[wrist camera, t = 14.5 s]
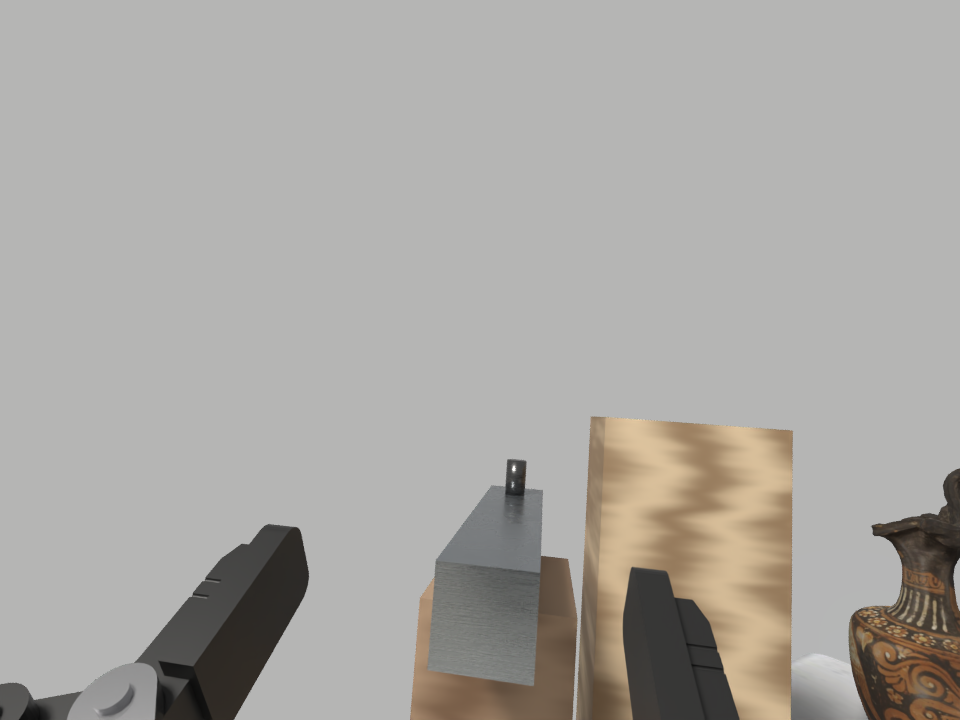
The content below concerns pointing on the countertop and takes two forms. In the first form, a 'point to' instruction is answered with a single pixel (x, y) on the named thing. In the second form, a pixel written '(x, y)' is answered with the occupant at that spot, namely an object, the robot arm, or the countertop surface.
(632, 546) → the oak block
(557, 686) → the walnut block
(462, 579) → the tin
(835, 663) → the countertop surface
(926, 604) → the vase
